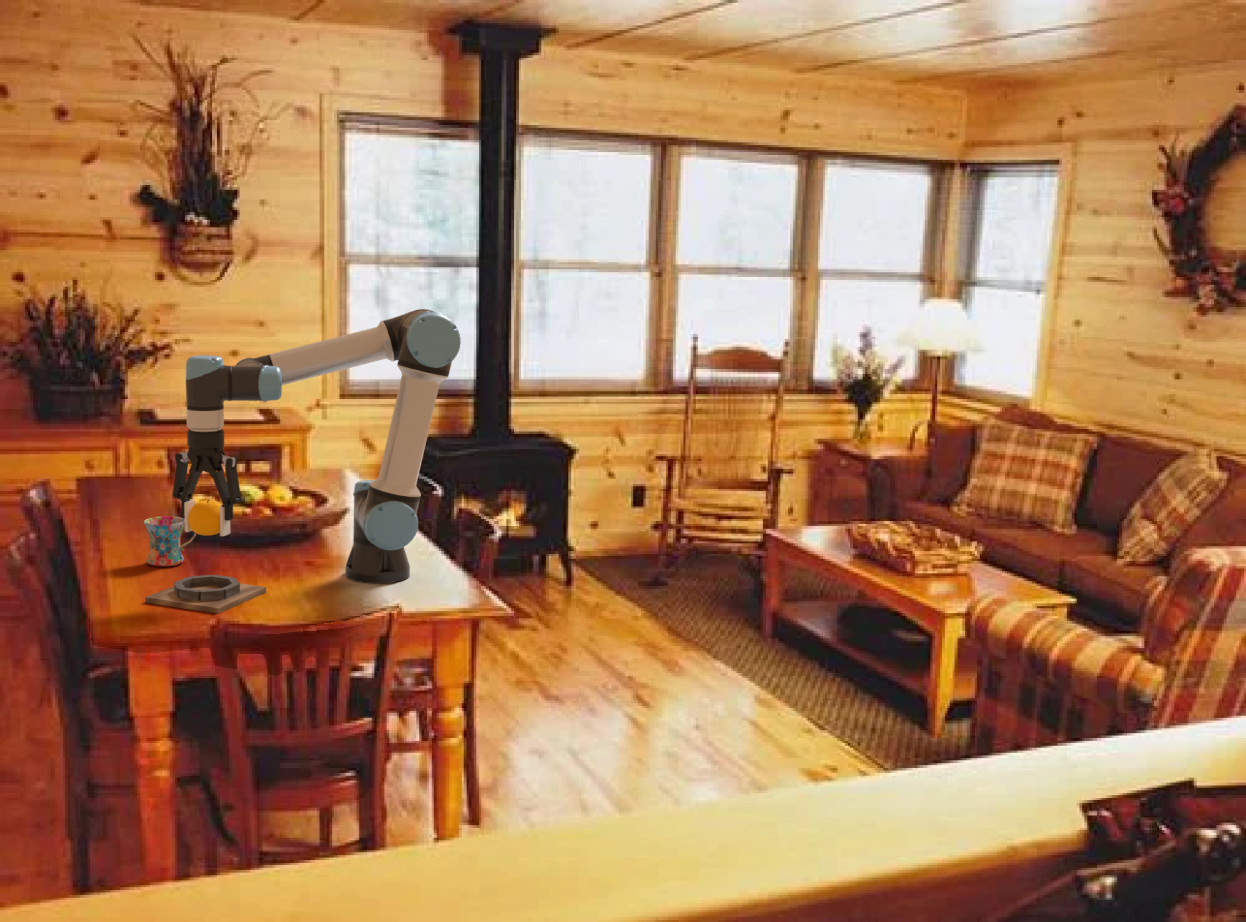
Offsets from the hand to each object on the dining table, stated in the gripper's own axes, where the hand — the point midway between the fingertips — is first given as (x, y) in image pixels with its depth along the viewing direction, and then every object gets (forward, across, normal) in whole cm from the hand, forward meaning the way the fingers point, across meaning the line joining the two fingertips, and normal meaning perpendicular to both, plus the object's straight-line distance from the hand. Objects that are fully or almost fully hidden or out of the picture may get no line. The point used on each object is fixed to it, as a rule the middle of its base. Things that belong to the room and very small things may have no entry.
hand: (207, 532), depth 267 cm
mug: (+15, +24, -21) cm, 36 cm away
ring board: (+15, +1, -1) cm, 15 cm away
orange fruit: (+1, 0, 0) cm, 1 cm away
